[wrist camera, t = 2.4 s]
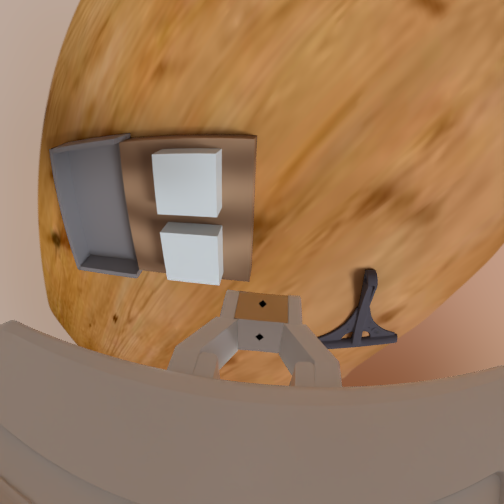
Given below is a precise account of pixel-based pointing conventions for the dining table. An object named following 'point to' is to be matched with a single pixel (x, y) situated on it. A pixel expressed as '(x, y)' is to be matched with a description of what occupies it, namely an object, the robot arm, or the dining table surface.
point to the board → (230, 216)
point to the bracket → (360, 322)
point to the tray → (95, 204)
